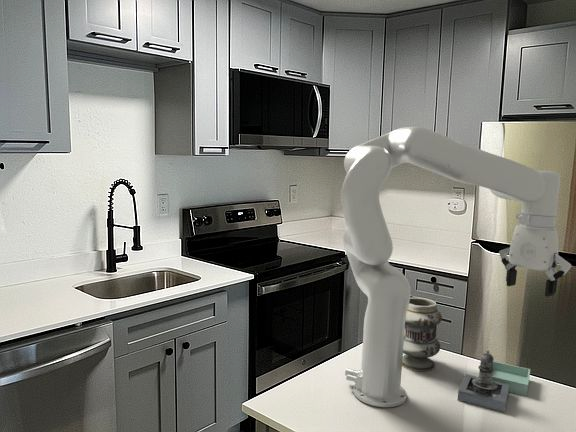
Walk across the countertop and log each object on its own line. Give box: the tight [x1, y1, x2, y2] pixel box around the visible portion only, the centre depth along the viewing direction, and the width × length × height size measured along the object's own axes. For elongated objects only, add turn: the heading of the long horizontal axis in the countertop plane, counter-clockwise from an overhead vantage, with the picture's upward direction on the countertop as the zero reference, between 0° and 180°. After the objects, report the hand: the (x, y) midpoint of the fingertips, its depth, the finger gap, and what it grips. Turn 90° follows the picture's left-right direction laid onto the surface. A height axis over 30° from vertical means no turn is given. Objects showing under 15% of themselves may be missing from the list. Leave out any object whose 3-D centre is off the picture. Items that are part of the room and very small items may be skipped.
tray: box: [492, 360, 531, 397], centre depth 129 cm, size 10×10×3 cm
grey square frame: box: [457, 373, 510, 413], centre depth 121 cm, size 10×10×2 cm
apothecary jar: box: [402, 297, 443, 372], centre depth 137 cm, size 12×12×18 cm
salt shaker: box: [472, 350, 498, 397], centre depth 120 cm, size 6×6×12 cm
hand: (529, 290), depth 122 cm, fingers open, 9 cm apart
